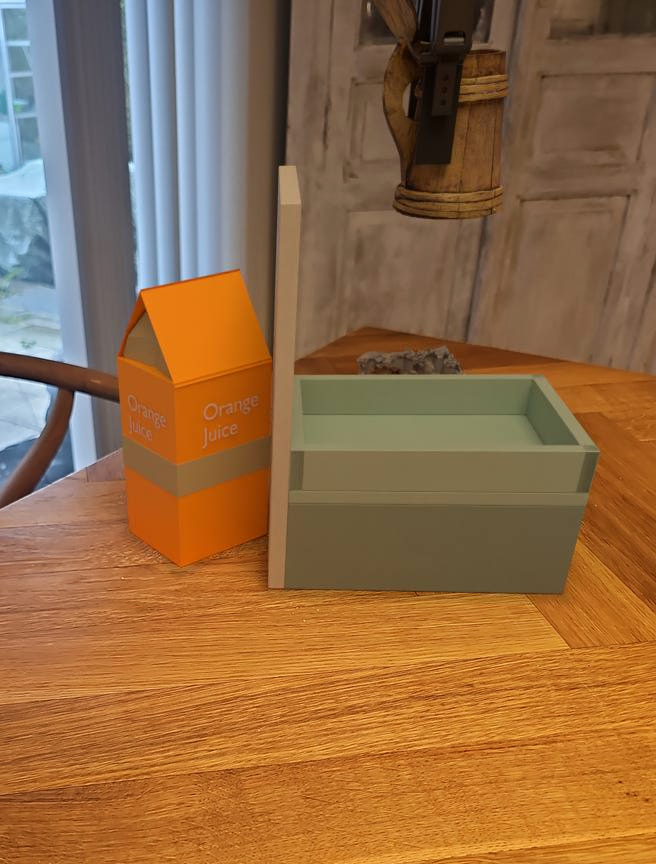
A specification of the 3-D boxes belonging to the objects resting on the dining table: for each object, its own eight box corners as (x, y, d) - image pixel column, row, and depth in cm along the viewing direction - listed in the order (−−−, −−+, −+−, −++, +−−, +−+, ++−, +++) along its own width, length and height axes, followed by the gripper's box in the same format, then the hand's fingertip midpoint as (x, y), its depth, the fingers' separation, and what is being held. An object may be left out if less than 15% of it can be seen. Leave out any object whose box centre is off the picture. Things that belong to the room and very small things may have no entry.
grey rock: (366, 403, 95) (369, 366, 93) (352, 380, 101) (355, 344, 99) (464, 398, 95) (469, 361, 93) (444, 375, 101) (449, 339, 99)
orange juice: (268, 534, 72) (276, 277, 60) (180, 568, 68) (170, 301, 56) (211, 500, 77) (208, 258, 66) (127, 530, 73) (107, 279, 62)
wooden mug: (328, 209, 77) (341, -51, 67) (473, 196, 79) (509, -59, 68) (362, 229, 70) (383, -58, 60) (521, 215, 72) (570, -67, 61)
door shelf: (516, 500, 75) (588, 158, 60) (563, 594, 63) (668, 195, 48) (268, 497, 77) (278, 165, 62) (268, 588, 65) (280, 203, 50)
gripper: (397, -198, 67) (370, 143, 81) (432, -263, 51) (391, 176, 65) (498, -205, 67) (453, 141, 80) (566, -273, 51) (496, 174, 64)
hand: (426, 156), depth 72 cm, fingers closed on wooden mug, 7 cm apart
